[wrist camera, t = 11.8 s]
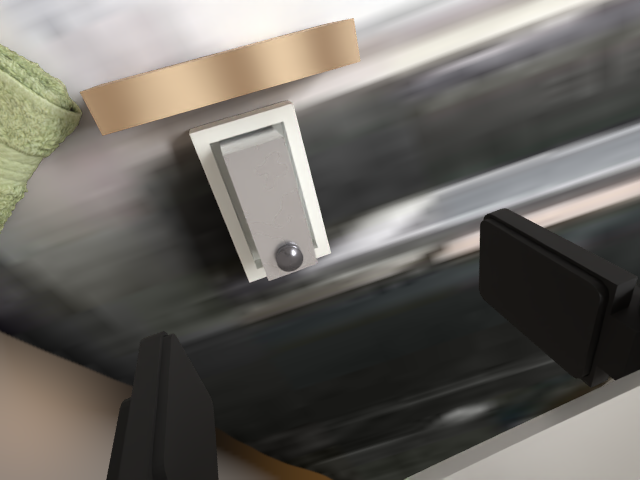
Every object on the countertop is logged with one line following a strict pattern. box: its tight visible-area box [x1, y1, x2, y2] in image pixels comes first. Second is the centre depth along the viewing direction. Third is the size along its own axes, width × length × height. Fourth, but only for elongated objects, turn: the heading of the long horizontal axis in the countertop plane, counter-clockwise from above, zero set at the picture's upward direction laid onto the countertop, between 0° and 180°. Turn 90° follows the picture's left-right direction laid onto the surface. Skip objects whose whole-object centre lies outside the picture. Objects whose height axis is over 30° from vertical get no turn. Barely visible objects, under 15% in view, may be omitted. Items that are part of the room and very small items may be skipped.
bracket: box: [189, 100, 331, 282], centre depth 30 cm, size 8×13×2 cm, turn 13°
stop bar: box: [219, 125, 318, 281], centre depth 28 cm, size 4×10×6 cm, turn 13°
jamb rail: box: [80, 18, 360, 135], centre depth 24 cm, size 16×2×5 cm, turn 103°
